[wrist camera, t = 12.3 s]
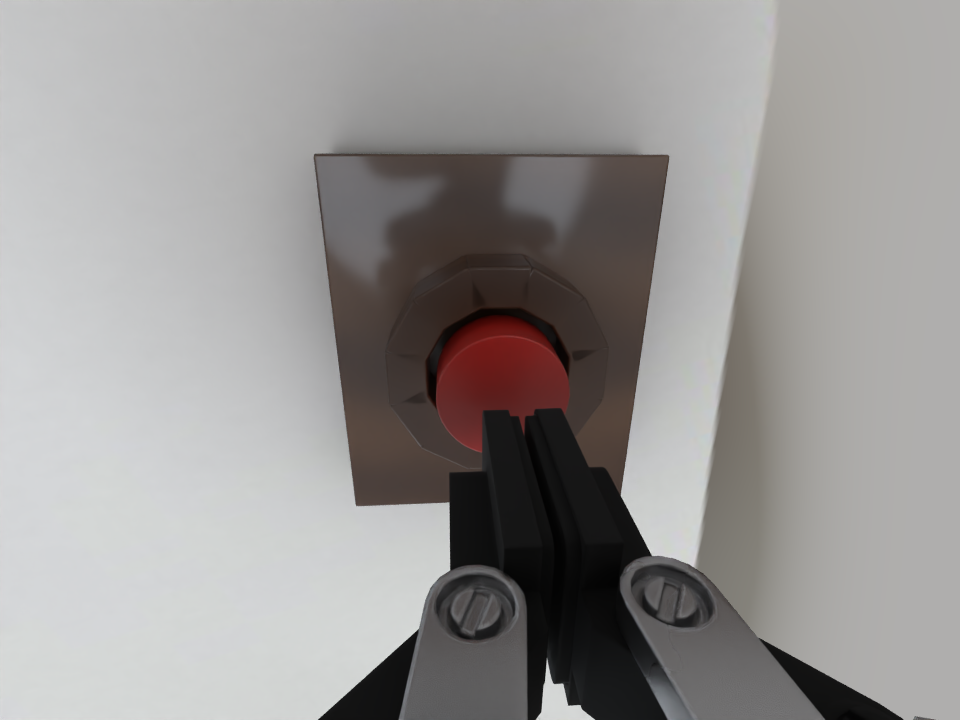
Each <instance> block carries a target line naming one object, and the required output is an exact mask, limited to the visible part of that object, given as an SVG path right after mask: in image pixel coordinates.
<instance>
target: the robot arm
mask: <svg viewBox="0 0 960 720" xmlns="http://www.w3.org/2000/svg"><path fill="white" fill-rule="evenodd" d="M449 496H450V571H449V572H447V573H446V574H444V575H443V576H441V577H440V578H439V579H438V580H437V581H436V582H435V583H434V584H433V586H432V587H431V588H430V591H429V593H428V595H427V598H426V600H425V605H424V609H423V614H422V618H421V623H420V627H419V629H418V630H417V631H416V632H415V633H414V634H413V635H412V636H411V637H410V638H408V639H407V640H406V641H405V642H404V643H403V644H402V645H401V646H400V647H398V648H397V649H396V650H395V651H394V652H393V653H392V654H391V655H390V656H388V657H387V658H386V659H385V660H384V661H383V662H382V663H381V664H380V665H378V666H377V667H376V668H375V669H374V670H373V671H372V672H371V673H370V674H368V675H367V676H366V677H365V678H364V679H363V680H362V681H361V682H359V683H358V684H357V685H356V686H355V687H354V688H353V689H352V690H351V691H349V692H348V693H347V694H346V695H345V696H344V697H343V698H342V699H341V700H339V701H338V702H337V703H336V704H335V705H334V706H333V707H332V708H331V709H329V710H328V711H327V712H326V713H325V714H324V715H323V716H322V717H321V718H319V719H318V720H536V718H537V717H538V716H539V714H540V713H541V709H542V696H543V685H544V683H545V674H546V661H547V659H548V664H549V669H550V674H551V678H552V681H553V683H554V684H561V683H563V684H564V689H565V693H566V697H567V702H568V706H570V705H581V708H582V710H584V711H585V712H586V713H587V714H589V715H590V716H591V717H592V718H594V719H595V720H903V719H902V718H901V717H899V716H898V715H896V714H894V713H893V712H891V711H890V710H888V709H887V708H885V707H884V706H882V705H880V704H879V703H877V702H875V701H873V700H872V699H870V698H868V697H866V696H864V695H862V694H860V693H859V692H857V691H855V690H853V689H851V688H849V687H847V686H846V685H844V684H842V683H840V682H838V681H837V680H835V679H833V678H831V677H829V676H827V675H826V674H824V673H822V672H820V671H818V670H817V669H815V668H813V667H811V666H809V665H808V664H806V663H804V662H802V661H800V660H798V659H796V658H795V657H793V656H791V655H789V654H787V653H785V652H784V651H782V650H780V649H778V648H776V647H775V646H773V645H771V644H769V643H767V642H765V641H764V640H762V639H760V638H758V637H757V636H756V635H755V633H754V632H753V631H752V630H751V629H750V627H749V626H748V625H747V624H746V623H745V621H744V620H743V619H742V618H741V616H740V615H739V614H738V613H737V611H736V610H735V609H734V608H733V607H732V606H731V604H730V603H729V602H728V600H727V599H726V598H725V597H724V596H723V594H722V593H721V592H720V591H719V590H718V588H717V587H716V586H715V585H714V584H713V583H712V582H711V581H710V580H709V579H708V578H707V577H706V576H705V575H704V574H703V573H701V572H700V571H698V570H697V569H695V568H694V567H692V566H690V565H689V564H686V563H684V562H681V561H678V560H676V559H673V558H667V557H662V556H652V555H651V553H650V551H649V550H648V548H647V546H646V544H645V542H644V540H643V538H642V536H641V534H640V532H639V530H638V528H637V526H636V525H635V523H634V521H633V519H632V517H631V515H630V513H629V511H628V509H627V507H626V505H625V503H624V501H623V500H622V498H621V496H620V494H619V492H618V490H617V488H616V486H615V484H614V482H613V480H612V478H611V476H610V475H609V473H608V471H607V470H606V468H604V467H589V466H588V464H587V462H586V460H585V458H584V455H583V453H582V451H581V449H580V447H579V445H578V443H577V440H576V438H575V436H574V434H573V432H572V430H571V428H570V425H569V423H568V421H567V419H566V417H565V415H564V412H563V410H562V409H561V408H544V409H535V410H534V415H532V416H525V424H524V433H523V430H522V426H521V423H520V419H519V416H510V413H509V410H483V413H482V471H476V472H449ZM913 720H934V719H927V718H922V717H914V719H913Z"/></svg>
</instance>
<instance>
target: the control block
mask: <svg viewBox="0 0 960 720" xmlns="http://www.w3.org/2000/svg"><path fill="white" fill-rule="evenodd" d="M668 162H669V155H631V154H314V164H315V172H316V180H317V188H318V197H319V205H320V213H321V221H322V230H323V238H324V246H325V254H326V263H327V271H328V279H329V288H330V296H331V304H332V312H333V321H334V329H335V337H336V345H337V354H338V362H339V370H340V378H341V387H342V395H343V403H344V411H345V420H346V428H347V436H348V444H349V453H350V461H351V469H352V477H353V486H354V494H355V502H356V506H375V505H399V504H423V503H447V502H450V496H449V472H476V471H482V452H478V451H475V450H472V449H470V448H468V447H466V446H464V445H463V444H461V443H460V442H458V441H457V440H456V439H455V438H454V437H453V436H452V435H451V434H450V433H449V432H448V431H447V429H446V428H445V426H444V425H443V423H442V421H441V419H440V417H439V414H438V410H437V405H436V385H437V365H438V359H439V356H440V353H441V351H442V349H443V347H444V345H445V344H446V342H447V341H448V339H449V338H450V337H451V336H452V335H453V334H454V333H455V332H456V331H457V330H458V329H459V328H461V327H462V326H464V325H465V324H467V323H469V322H471V321H473V320H475V319H478V318H481V317H486V316H491V315H508V316H514V317H517V318H521V319H523V320H525V321H528V322H530V323H531V324H533V325H534V326H536V327H537V328H538V329H539V330H541V331H542V332H543V333H544V335H545V336H546V337H547V338H548V340H549V341H550V343H551V345H552V346H553V348H554V350H555V352H556V354H557V355H558V357H559V359H560V361H561V363H562V365H563V366H564V369H565V371H566V373H567V376H568V380H569V386H570V397H569V403H568V407H567V410H566V413H565V417H566V419H567V421H568V423H569V425H570V428H571V430H572V432H573V434H574V436H575V438H576V440H577V443H578V445H579V447H580V449H581V451H582V453H583V455H584V458H585V460H586V462H587V464H588V466H589V467H604V468H606V470H607V471H608V473H609V475H610V476H611V478H612V480H613V482H614V484H615V486H616V488H617V490H618V492H619V494H620V495H621V489H622V482H623V475H624V468H625V461H626V454H627V447H628V440H629V433H630V426H631V419H632V412H633V405H634V399H635V392H636V385H637V378H638V371H639V364H640V357H641V350H642V343H643V336H644V329H645V322H646V315H647V308H648V301H649V294H650V287H651V281H652V274H653V267H654V260H655V253H656V246H657V239H658V232H659V225H660V218H661V211H662V204H663V197H664V190H665V183H666V176H667V169H668Z"/></svg>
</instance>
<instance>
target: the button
mask: <svg viewBox="0 0 960 720" xmlns="http://www.w3.org/2000/svg"><path fill="white" fill-rule="evenodd" d="M569 397H570V386H569V380H568V376H567V373H566V371H565V369H564V366H563V365H562V363H561V361H560V359H559V357H558V355H557V354H556V352H555V350H554V348H553V346H552V345H551V343H550V341H549V340H548V338H547V337H546V336H545V335H544V333H543V332H542V331H541V330H539V329H538V328H537V327H536V326H534V325H533V324H531V323H530V322H528V321H525V320H523V319H521V318H517V317H514V316H508V315H491V316H486V317H481V318H478V319H475V320H473V321H471V322H469V323H467V324H465V325H464V326H462V327H461V328H459V329H458V330H457V331H456V332H455V333H454V334H453V335H452V336H451V337H450V338H449V339H448V341H447V342H446V344H445V345H444V347H443V349H442V351H441V353H440V356H439V359H438V365H437V385H436V405H437V410H438V414H439V417H440V419H441V421H442V423H443V425H444V426H445V428H446V429H447V431H448V432H449V433H450V434H451V435H452V436H453V437H454V438H455V439H456V440H457V441H458V442H460V443H461V444H463V445H464V446H466V447H468V448H470V449H472V450H475V451H478V452H482V413H483V410H509V413H510V416H519V419H520V423H521V426H522V430H523V433H524V424H525V416H532V415H534V410H535V409H544V408H561V409H562V410H563V412H564V415H565V413H566V410H567V407H568V403H569Z"/></svg>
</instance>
